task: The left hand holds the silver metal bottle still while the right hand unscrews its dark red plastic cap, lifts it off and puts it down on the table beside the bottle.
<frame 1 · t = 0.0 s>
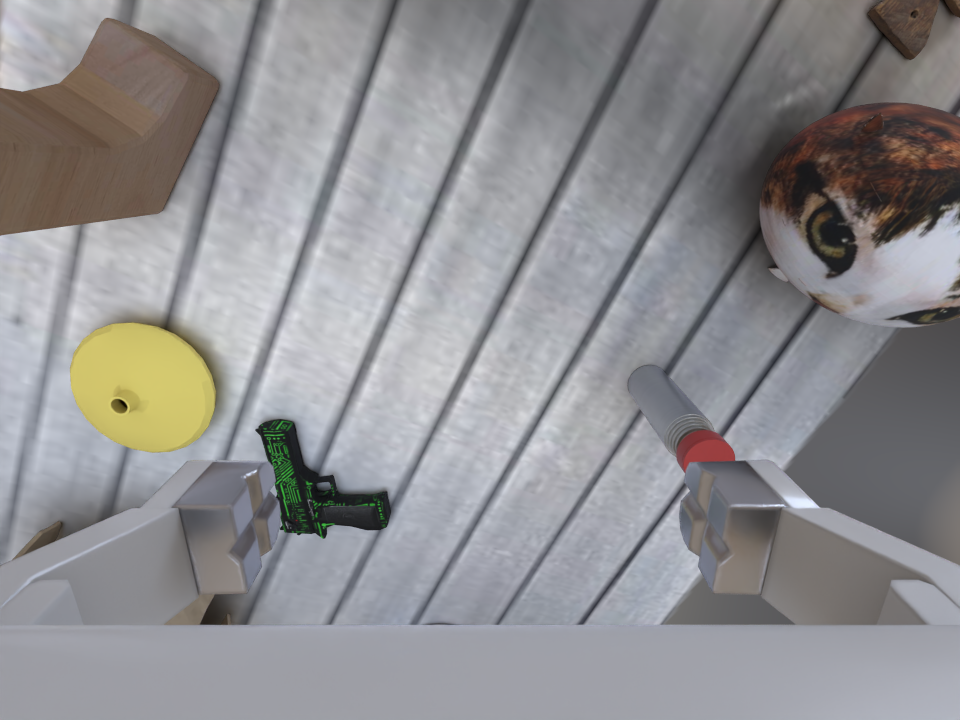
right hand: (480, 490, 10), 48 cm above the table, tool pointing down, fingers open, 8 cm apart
decorative block: (158, 129, 52), on the table
bottle: (647, 383, 62), on the table
cap: (707, 460, 45), point 17 cm above the table, screwed on, not yet turned
helmet: (152, 589, 72), on the table
handgun: (328, 476, 66), on the table
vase: (159, 379, 61), on the table
plush toy: (823, 212, 55), on the table
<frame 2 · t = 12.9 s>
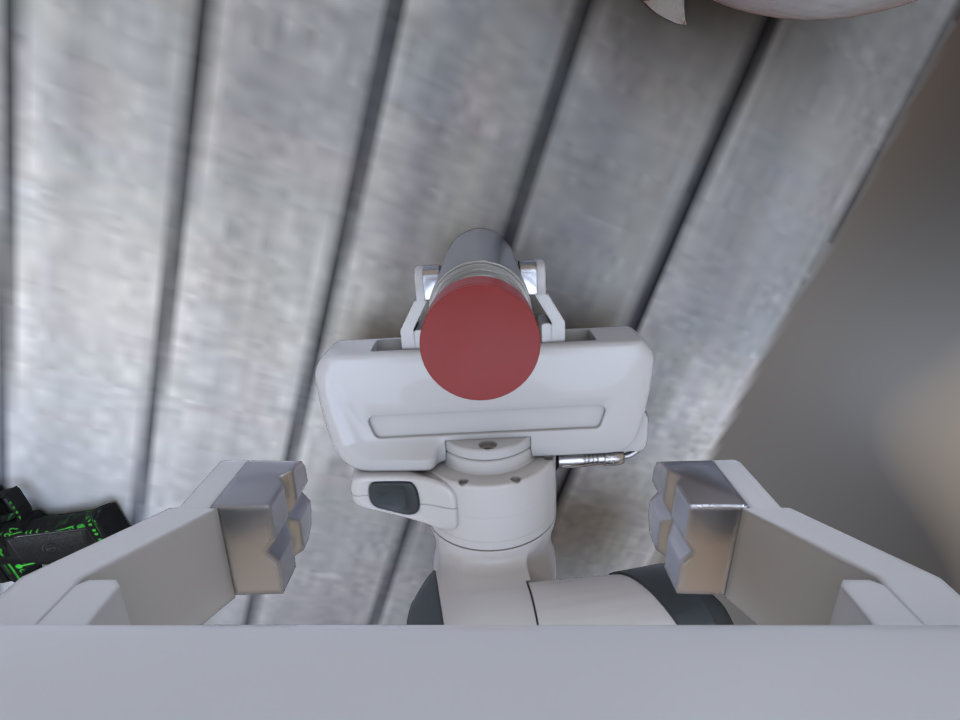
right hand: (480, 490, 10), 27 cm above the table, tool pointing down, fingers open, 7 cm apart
left hand: (478, 263, 30), fingers closed on bottle, 5 cm apart
bottle: (480, 263, 36), on the table, touching left hand
cap: (480, 342, 19), point 17 cm above the table, screwed on, not yet turned
handgun: (20, 488, 42), on the table
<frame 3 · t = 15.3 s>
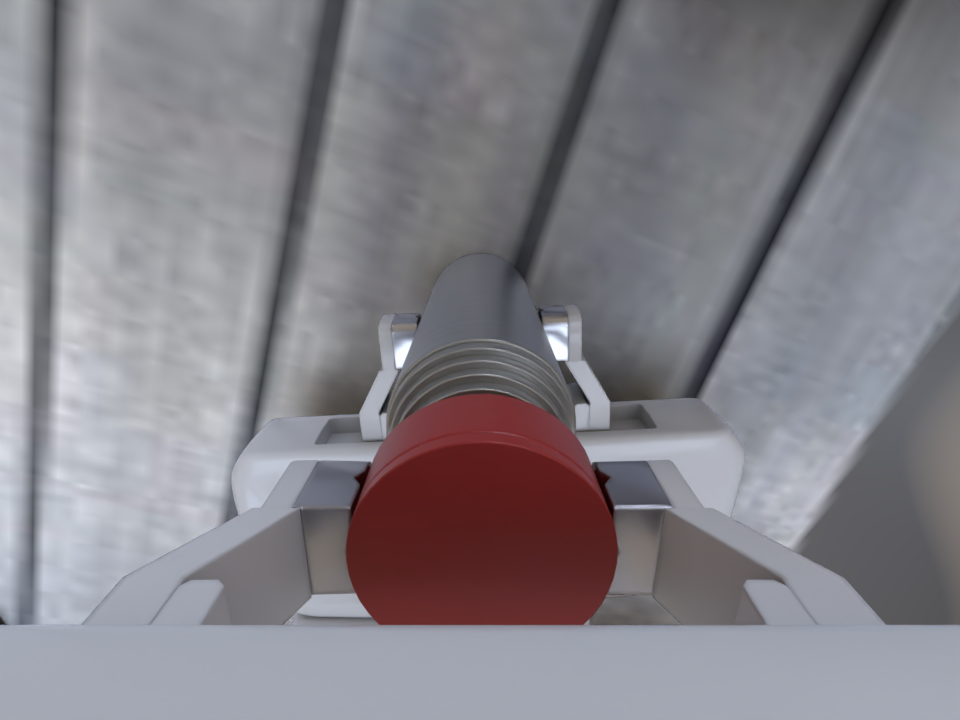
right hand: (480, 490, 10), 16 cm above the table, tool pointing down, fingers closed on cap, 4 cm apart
bottle: (480, 302, 25), on the table, touching left hand
cap: (481, 549, 9), point 17 cm above the table, screwed on, not yet turned, touching right hand
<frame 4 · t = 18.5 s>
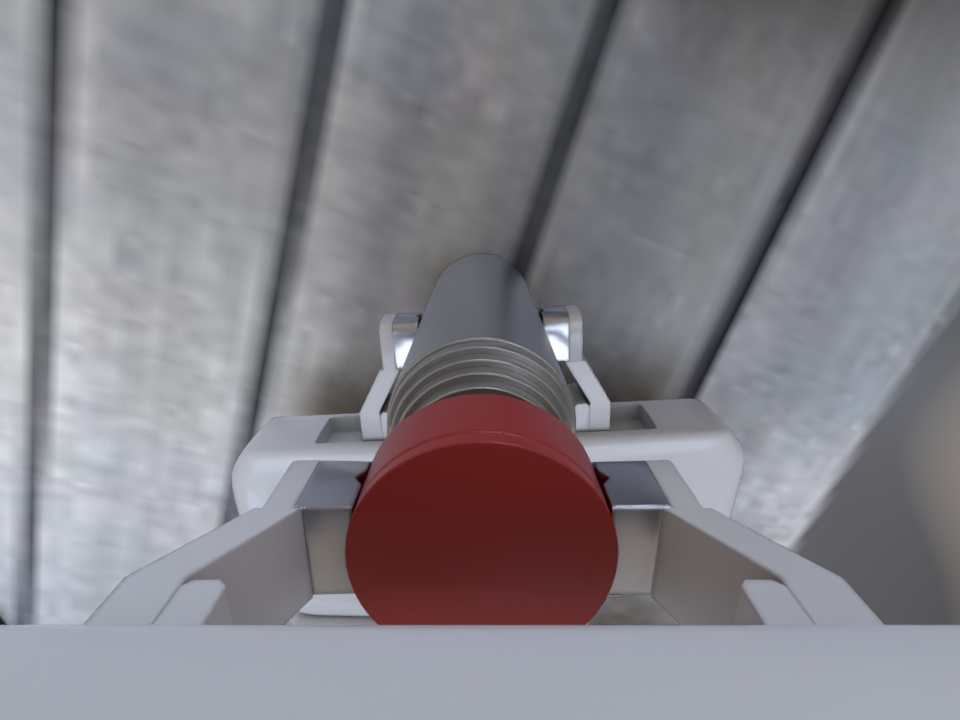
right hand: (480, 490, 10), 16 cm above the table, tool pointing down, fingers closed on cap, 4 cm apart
bottle: (481, 302, 25), on the table, touching left hand
cap: (481, 550, 9), point 17 cm above the table, turned 78° so far, risen 0.1 cm, still on its thread, touching right hand
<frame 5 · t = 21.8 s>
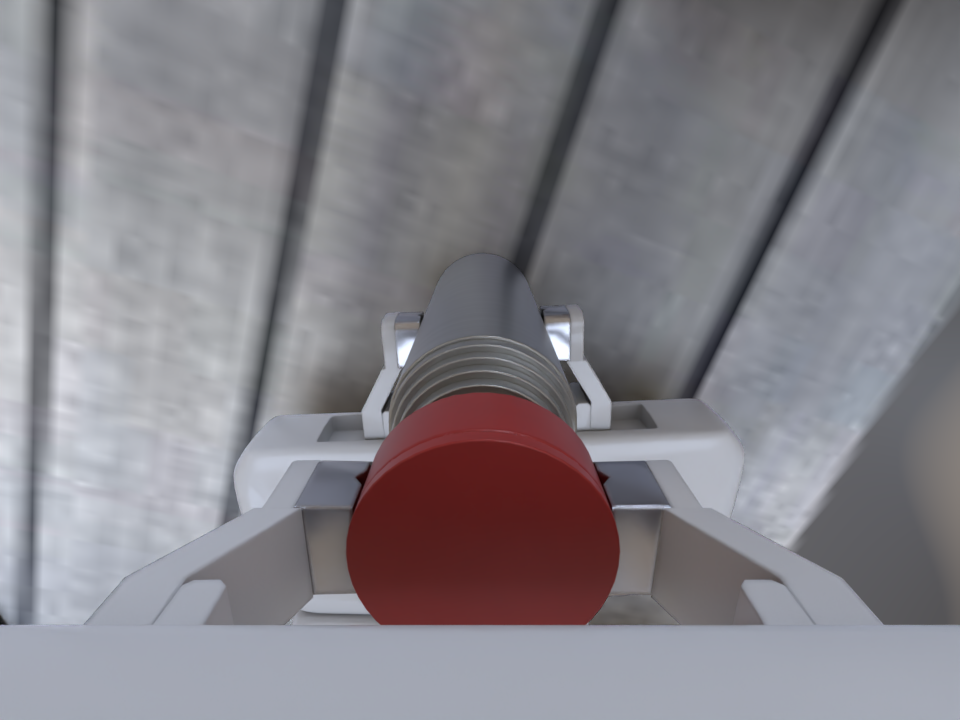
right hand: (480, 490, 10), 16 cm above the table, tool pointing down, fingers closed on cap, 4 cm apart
bottle: (482, 302, 25), on the table, touching left hand
cap: (482, 549, 9), point 17 cm above the table, turned 156° so far, risen 0.1 cm, still on its thread, touching right hand
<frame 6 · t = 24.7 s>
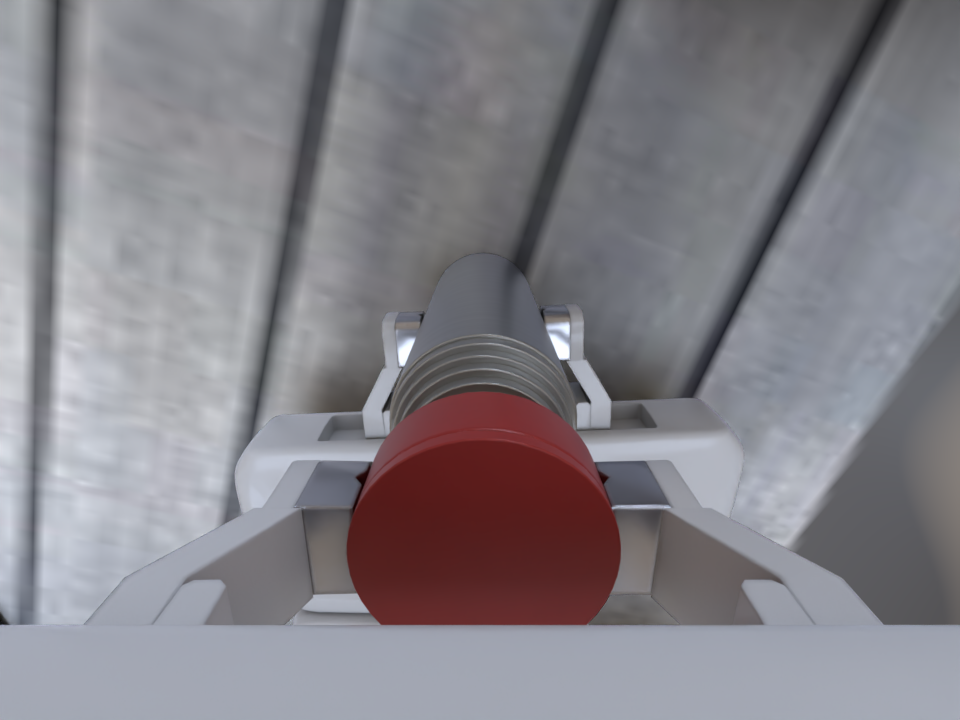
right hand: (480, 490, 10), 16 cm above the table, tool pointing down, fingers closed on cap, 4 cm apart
bottle: (482, 301, 25), on the table, touching left hand
cap: (483, 548, 9), point 18 cm above the table, turned 234° so far, risen 0.2 cm, still on its thread, touching right hand
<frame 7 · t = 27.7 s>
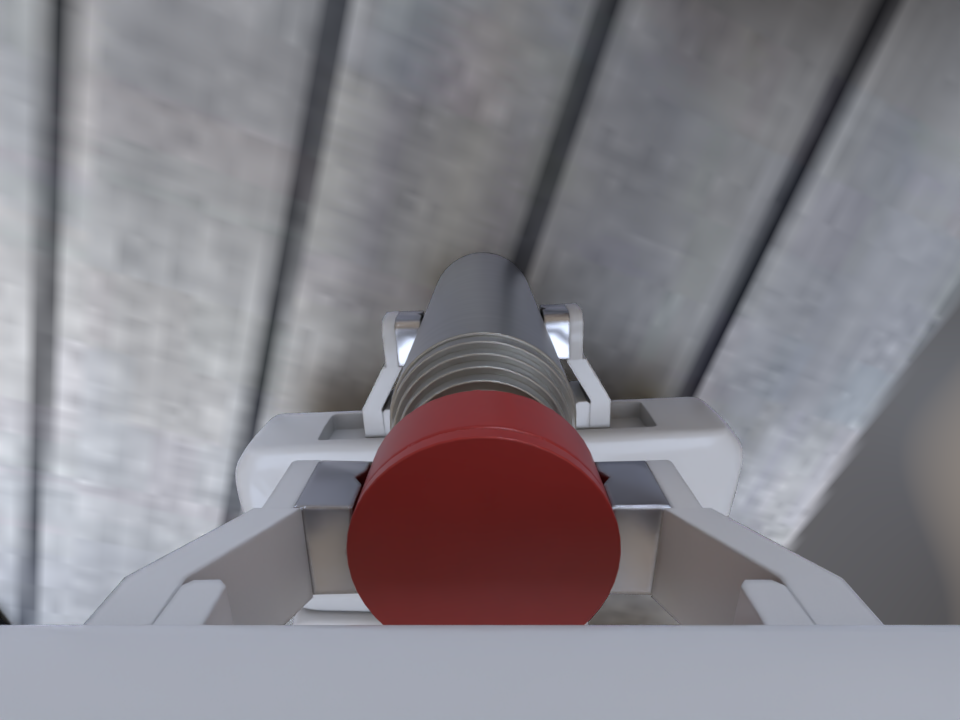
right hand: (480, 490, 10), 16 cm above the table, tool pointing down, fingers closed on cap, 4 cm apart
bottle: (482, 301, 25), on the table, touching left hand
cap: (483, 546, 9), point 18 cm above the table, turned 312° so far, risen 0.3 cm, still on its thread, touching right hand
when the right hand's fingers open (2 cm above the table, at t = 37.0 s): cap drops 2 cm, point 2 cm above the table.
when the left hand's fingers open (5 cm above the table, at t = 38.1 s): bottle stays where it is, on the table.
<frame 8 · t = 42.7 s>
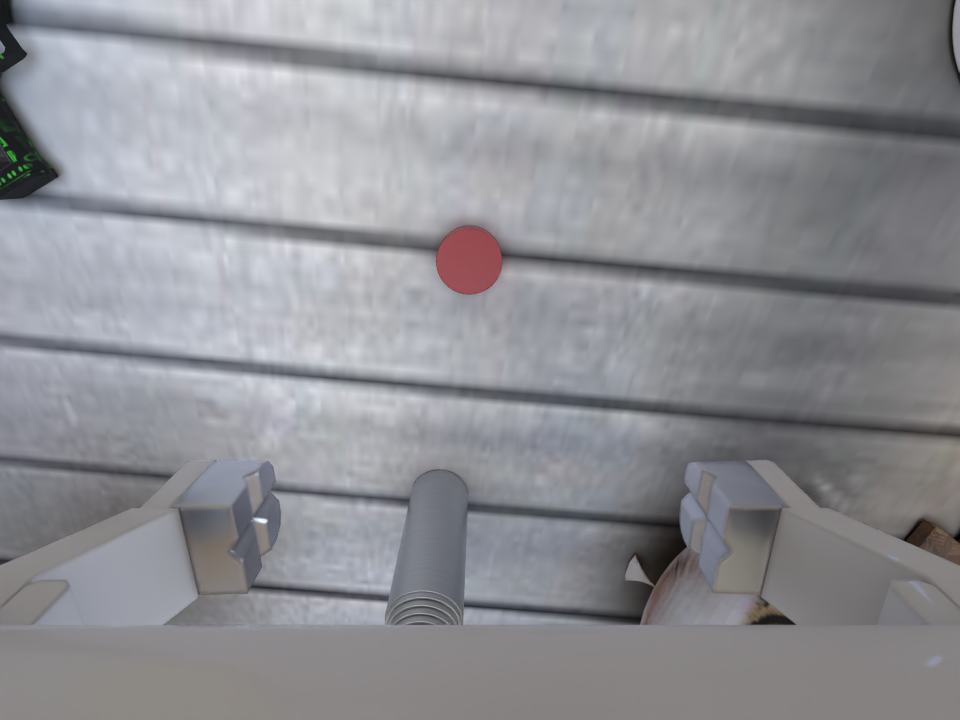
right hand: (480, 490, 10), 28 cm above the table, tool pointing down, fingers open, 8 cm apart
bottle: (439, 494, 43), on the table
cap: (469, 261, 35), point 2 cm above the table, off its thread
handgun: (20, 48, 32), on the table
plush toy: (711, 576, 46), on the table
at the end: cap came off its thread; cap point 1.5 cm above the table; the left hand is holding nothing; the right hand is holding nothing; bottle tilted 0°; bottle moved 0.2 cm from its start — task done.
